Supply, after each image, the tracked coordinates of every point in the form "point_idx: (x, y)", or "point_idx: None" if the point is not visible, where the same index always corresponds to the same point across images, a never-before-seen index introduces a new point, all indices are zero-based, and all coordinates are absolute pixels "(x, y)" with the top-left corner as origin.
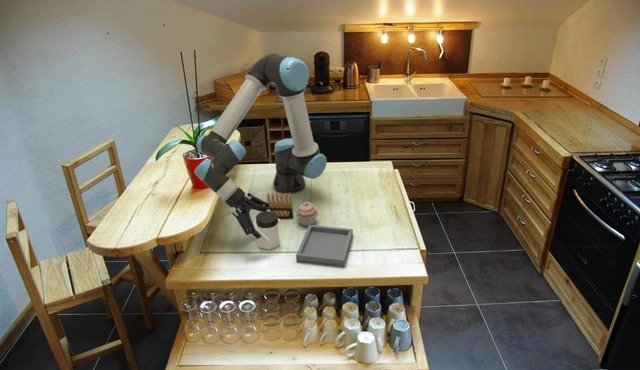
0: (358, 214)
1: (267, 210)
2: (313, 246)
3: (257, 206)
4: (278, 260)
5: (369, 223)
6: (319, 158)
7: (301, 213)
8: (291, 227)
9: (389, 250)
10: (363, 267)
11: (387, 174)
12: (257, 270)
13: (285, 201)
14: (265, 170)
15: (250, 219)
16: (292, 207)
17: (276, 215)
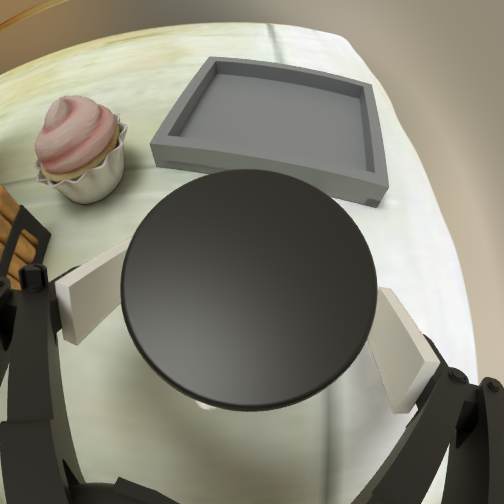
0: (108, 76)
1: (70, 292)
2: (286, 145)
3: (52, 389)
4: (381, 276)
5: (158, 58)
6: None
7: (95, 143)
8: (109, 235)
9: (279, 42)
10: (352, 77)
11: (3, 77)
12: (448, 352)
13: None
14: None
15: (421, 443)
16: (16, 203)
17: (229, 175)
